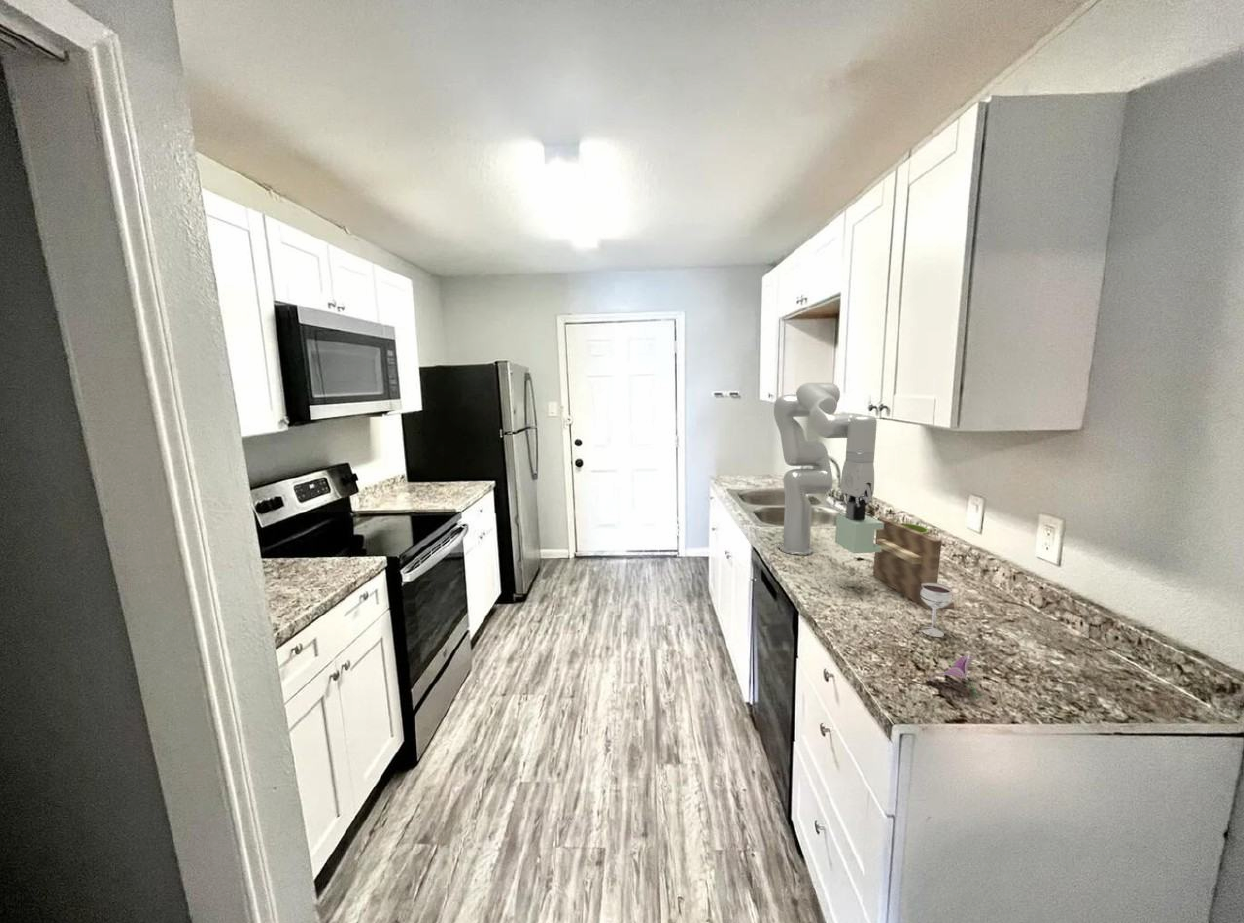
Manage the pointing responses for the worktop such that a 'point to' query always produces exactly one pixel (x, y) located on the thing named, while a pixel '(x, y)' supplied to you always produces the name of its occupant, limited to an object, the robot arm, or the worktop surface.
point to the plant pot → (915, 527)
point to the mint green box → (857, 532)
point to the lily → (959, 668)
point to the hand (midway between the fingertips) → (855, 517)
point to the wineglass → (935, 602)
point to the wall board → (906, 559)
